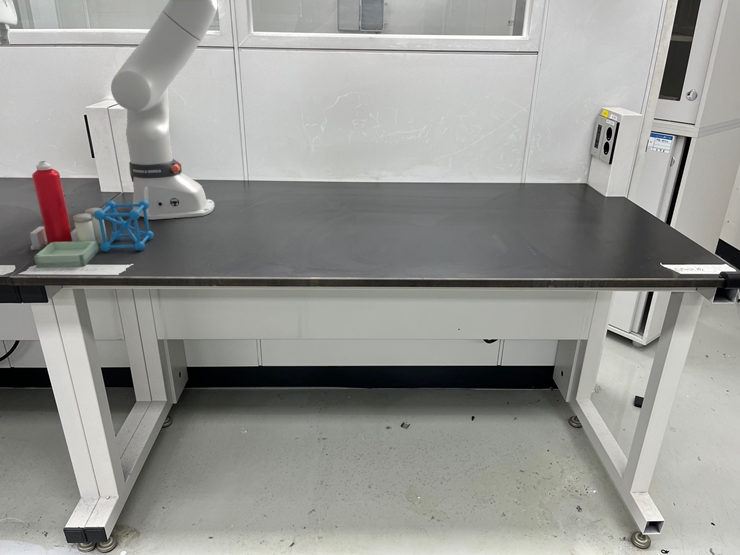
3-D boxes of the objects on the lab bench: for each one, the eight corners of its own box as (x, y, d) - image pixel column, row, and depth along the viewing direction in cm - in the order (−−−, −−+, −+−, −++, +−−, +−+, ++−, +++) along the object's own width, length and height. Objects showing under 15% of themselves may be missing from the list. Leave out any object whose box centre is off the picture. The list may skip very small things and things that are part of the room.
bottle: (45, 250, 129) (25, 164, 121) (52, 242, 134) (33, 159, 126) (70, 248, 130) (52, 163, 122) (77, 241, 135) (59, 158, 127)
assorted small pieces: (113, 235, 139) (108, 204, 136) (84, 265, 121) (77, 231, 118) (47, 236, 138) (40, 205, 134) (8, 267, 119) (-2, 232, 116)
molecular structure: (113, 238, 137) (106, 199, 133) (155, 237, 138) (149, 198, 134) (99, 253, 128) (91, 211, 124) (144, 252, 129) (137, 211, 125)
